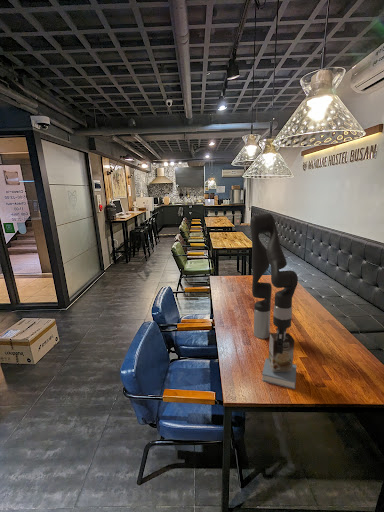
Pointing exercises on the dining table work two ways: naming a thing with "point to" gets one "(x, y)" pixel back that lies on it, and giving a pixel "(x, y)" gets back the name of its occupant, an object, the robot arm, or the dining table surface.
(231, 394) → the dining table surface
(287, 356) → the coffee box
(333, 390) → the dining table surface
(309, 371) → the dining table surface
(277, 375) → the book
